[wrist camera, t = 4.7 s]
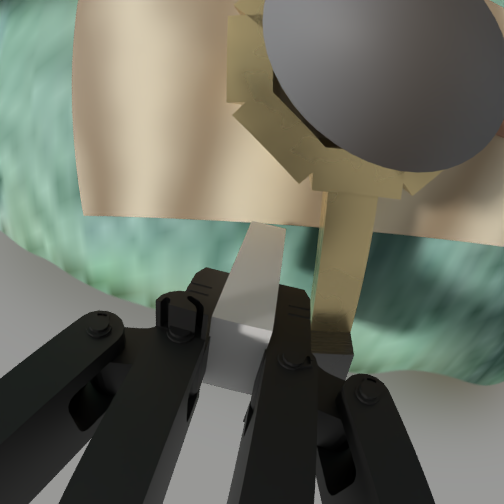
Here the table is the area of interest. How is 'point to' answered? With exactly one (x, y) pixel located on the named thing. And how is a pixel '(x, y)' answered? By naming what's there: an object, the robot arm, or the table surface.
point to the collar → (314, 186)
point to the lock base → (300, 102)
